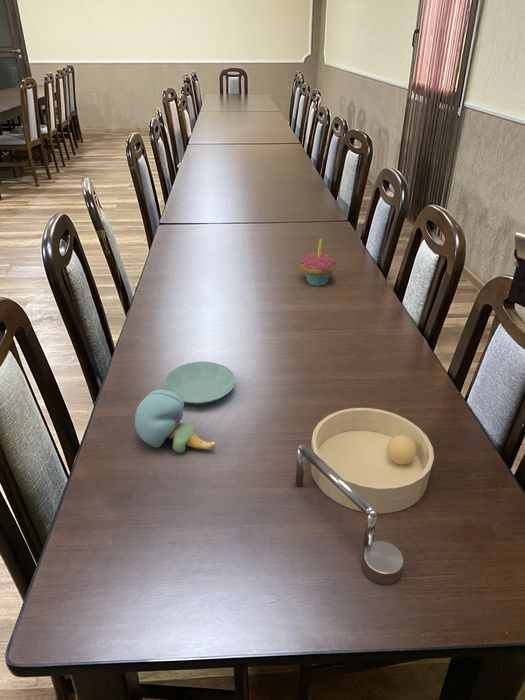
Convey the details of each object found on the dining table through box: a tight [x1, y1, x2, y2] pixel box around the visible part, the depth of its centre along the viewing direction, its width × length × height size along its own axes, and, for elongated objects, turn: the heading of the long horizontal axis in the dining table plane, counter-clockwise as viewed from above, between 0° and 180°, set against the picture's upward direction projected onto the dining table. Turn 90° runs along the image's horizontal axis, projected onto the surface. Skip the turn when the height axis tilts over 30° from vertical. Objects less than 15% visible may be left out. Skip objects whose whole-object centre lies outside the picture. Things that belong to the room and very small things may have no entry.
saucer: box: [163, 361, 236, 405], centre depth 90 cm, size 12×12×2 cm
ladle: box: [295, 443, 405, 586], centre depth 64 cm, size 18×4×7 cm, turn 34°
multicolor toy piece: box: [134, 388, 216, 454], centre depth 77 cm, size 7×9×12 cm
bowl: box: [309, 407, 435, 515], centre depth 74 cm, size 16×16×4 cm
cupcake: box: [299, 236, 337, 287], centre depth 126 cm, size 9×8×12 cm
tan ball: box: [387, 435, 416, 464], centre depth 75 cm, size 4×4×4 cm
